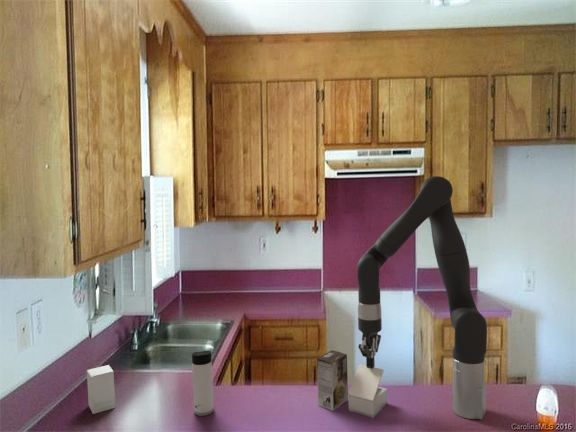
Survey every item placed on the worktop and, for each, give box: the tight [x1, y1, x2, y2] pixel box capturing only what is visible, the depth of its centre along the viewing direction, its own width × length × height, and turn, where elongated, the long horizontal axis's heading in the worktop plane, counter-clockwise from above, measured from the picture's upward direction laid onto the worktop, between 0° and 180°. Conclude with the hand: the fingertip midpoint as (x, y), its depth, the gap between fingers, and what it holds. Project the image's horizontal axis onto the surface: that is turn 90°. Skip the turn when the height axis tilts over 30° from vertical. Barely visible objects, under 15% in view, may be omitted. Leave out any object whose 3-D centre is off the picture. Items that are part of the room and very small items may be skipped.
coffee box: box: [316, 349, 349, 412], centre depth 147 cm, size 9×6×16 cm
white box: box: [348, 386, 388, 419], centre depth 144 cm, size 8×11×5 cm
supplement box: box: [86, 364, 116, 415], centre depth 149 cm, size 7×7×13 cm
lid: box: [348, 363, 385, 401], centre depth 142 cm, size 8×11×1 cm
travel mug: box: [191, 350, 214, 417], centre depth 143 cm, size 6×7×20 cm
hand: (370, 367), depth 145 cm, fingers closed
